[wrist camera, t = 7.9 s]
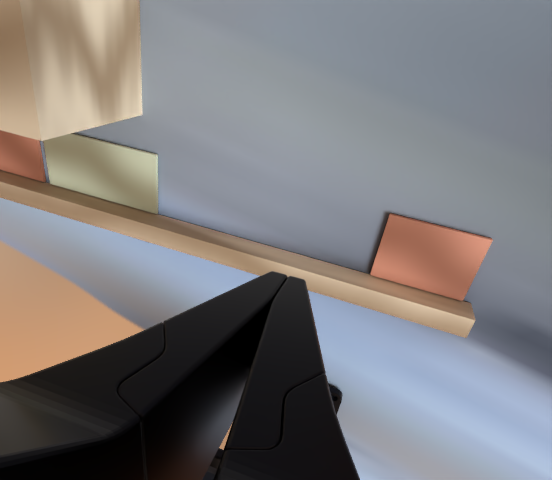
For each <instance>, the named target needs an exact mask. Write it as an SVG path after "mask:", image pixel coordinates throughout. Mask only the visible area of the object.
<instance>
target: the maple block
mask: <svg viewBox="0 0 552 480" xmlns="http://www.w3.org/2000/svg"><path fill="white" fill-rule="evenodd" d="M140 115H142V81H141V42H140V2H139V0H0V130H2V131H5V132H9V133H13V134H17V135H20V136H24V137H28V138H32V139H36V140H39V141H44V140H48V139H51V138H55V137H59V136H63V135H67V134H71V133H75V132H79V131H82V130H86V129H90V128H94V127H98V126H102V125H106V124H109V123H113V122H117V121H121V120H125V119H129V118H133V117H137V116H140Z"/></svg>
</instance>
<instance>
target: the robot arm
mask: <svg viewBox="0 0 552 480" xmlns="http://www.w3.org/2000/svg"><path fill="white" fill-rule="evenodd" d="M163 324H164V325H163ZM341 400H342V392H341V391H340V390H338V389H336V388H333V387H330V386H328V381H327V376H326V375H325V368H324V363H323V359H322V354H321V350H320V345H319V340H318V336H317V331H316V327H315V322H314V317H313V313H312V308H311V303H310V299H309V294H308V290H307V285H306V281H305V280H304V279H301V278H297V277H293V276H289V277H287V275H285V274H282V273H278V272H275V271H271V272H268V273H266V274H264V275H262V276H260V277H258V278H255V279H253V280H251V281H249V282H247V283H245V284H243V285H240V286H238V287H236V288H234V289H232V290H230V291H228V292H226V293H223V294H221V295H219V296H217V297H215V298H213V299H211V300H208V301H206V302H204V303H202V304H200V305H198V306H196V307H194V308H191V309H189V310H187V311H185V312H183V313H181V314H179V315H176V316H174V317H172V318H170V319H168V320H166V321H164V323H159V324H157V325H155V326H153V327H151V328H148V329H146V330H144V331H142V332H139V333H137V334H135V335H133V336H130V337H128V338H126V339H124V340H121V341H118V342H116V343H113V344H111V345H108V346H106V347H103V348H101V349H98V350H95V351H93V352H90V353H87V354H84V355H82V356H79V357H76V358H73V359H71V360H68V361H65V362H63V363H60V364H57V365H54V366H52V367H49V368H46V369H44V370H41V371H38V372H35V373H33V374H30V375H27V376H24V377H21V378H18V379H14V380H10V381H6V382H0V480H360V478H359V475H358V473H357V470H356V468H355V465H354V462H353V460H352V457H351V454H350V452H349V449H348V447H347V444H346V441H345V439H344V436H343V433H342V430H341V427H340V424H339V421H338V418H337V416H336V415H337V412H338V409H339V406H340V404H341ZM232 422H233V423H232ZM231 424H232V426H231ZM230 426H231V430H230V433H229V436H228V439H227V442H226V445H225V448H224V450H222V449H220V448H219V447H220V445H221V443H222V441H223V439H224V437H225V435H226V433H227V431H228V430H229V428H230Z"/></svg>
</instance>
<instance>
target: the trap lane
mask: <svg viewBox="0 0 552 480" xmlns="http://www.w3.org/2000/svg"><path fill="white" fill-rule="evenodd" d="M43 142H44V148H45V155H46V161H47V167H48V174H49V180H50V183H46V182H45V181H46V176H45V170H44V164H43V158H42V152H41V146H40V141H39V140H36V139H32V138H28V137H24V136H20V135H17V134H13V133H9V132H5V131H2V130H0V197H1V198H4V199H7V200H11V201H14V202H17V203H21V204H24V205H27V206H30V207H34V208H37V209H40V210H44V211H47V212H50V213H54V214H57V215H60V216H64V217H67V218H70V219H74V220H77V221H80V222H84V223H87V224H90V225H93V226H97V227H100V228H103V229H107V230H110V231H113V232H117V233H120V234H123V235H127V236H130V237H133V238H137V239H140V240H143V241H147V242H150V243H153V244H156V245H160V246H163V247H166V248H170V249H173V250H176V251H180V252H183V253H186V254H190V255H193V256H196V257H200V258H203V259H206V260H210V261H213V262H216V263H219V264H223V265H226V266H229V267H233V268H236V269H239V270H243V271H246V272H249V273H253V274H256V275H259V276H262V275H264V274H266V273H268V272H271V271H275V272H278V273H282V274H285V275H287V277H289V276H293V277H297V278H301V279H304V280H305V281H306V285H307V290H309V291H312V292H316V293H319V294H322V295H326V296H329V297H332V298H336V299H339V300H342V301H345V302H349V303H352V304H355V305H359V306H362V307H365V308H369V309H372V310H375V311H379V312H382V313H385V314H389V315H392V316H395V317H399V318H402V319H405V320H408V321H412V322H415V323H418V324H422V325H425V326H428V327H432V328H435V329H438V330H442V331H445V332H448V333H452V334H455V335H458V336H462V337H465V338H466V337H467V335H468V333H469V332H470V330H471V328H472V326H473V324H474V322H475V317H474V313H473V309H472V305H471V303H468V302H465V301H463V299H464V297H465V295H466V293H467V291H468V289H469V287H470V285H471V283H472V281H473V279H474V277H475V275H476V273H477V271H478V269H479V267H480V265H481V263H482V261H483V259H484V257H485V255H486V253H487V251H488V249H489V247H490V245H491V243H492V241H493V240H492V238H488V237H484V236H480V235H476V234H472V233H468V232H464V231H460V230H456V229H452V228H448V227H444V226H440V225H436V224H432V223H428V222H424V221H420V220H416V219H412V218H408V217H404V216H400V215H396V214H392V213H390V214H389V217H388V220H387V223H386V227H385V230H384V233H383V236H382V239H381V242H380V245H379V248H378V251H377V254H376V257H375V260H374V263H373V266H372V269H371V273H370V274H366V273H363V272H359V271H356V270H352V269H349V268H345V267H342V266H338V265H335V264H331V263H328V262H324V261H320V260H317V259H313V258H310V257H306V256H303V255H299V254H296V253H292V252H289V251H285V250H282V249H278V248H275V247H271V246H268V245H264V244H261V243H257V242H254V241H250V240H247V239H243V238H240V237H236V236H233V235H229V234H226V233H222V232H219V231H215V230H212V229H208V228H204V227H201V226H197V225H194V224H190V223H187V222H183V221H180V220H176V219H173V218H169V217H166V216H162V215H159V214H157V213H158V155H157V154H153V153H149V152H146V151H142V150H138V149H134V148H130V147H126V146H122V145H118V144H114V143H110V142H106V141H102V140H98V139H94V138H90V137H86V136H82V135H78V134H74V133H71V134H67V135H63V136H59V137H55V138H51V139H48V140H44V141H43Z"/></svg>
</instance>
